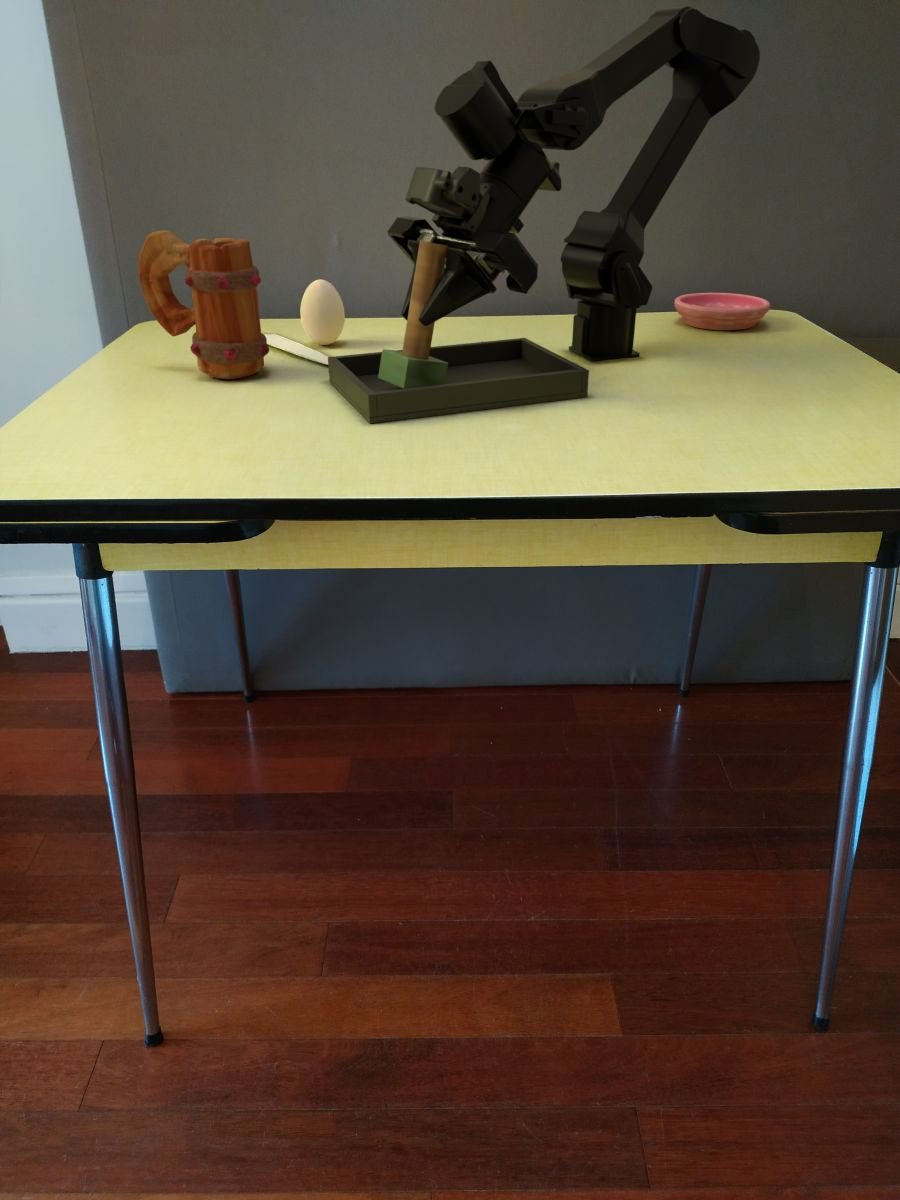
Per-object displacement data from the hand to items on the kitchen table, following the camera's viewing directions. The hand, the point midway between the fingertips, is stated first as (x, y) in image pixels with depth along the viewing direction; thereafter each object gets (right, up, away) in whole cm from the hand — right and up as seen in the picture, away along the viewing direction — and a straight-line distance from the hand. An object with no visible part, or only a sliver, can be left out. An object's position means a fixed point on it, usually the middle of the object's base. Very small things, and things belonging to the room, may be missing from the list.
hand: (413, 320), depth 92 cm
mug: (-23, -2, +12) cm, 27 cm away
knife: (-19, +4, +25) cm, 31 cm away
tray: (+4, -6, +5) cm, 9 cm away
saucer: (+41, +9, +33) cm, 53 cm away
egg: (-12, +4, +24) cm, 27 cm away
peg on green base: (0, -6, +3) cm, 7 cm away
